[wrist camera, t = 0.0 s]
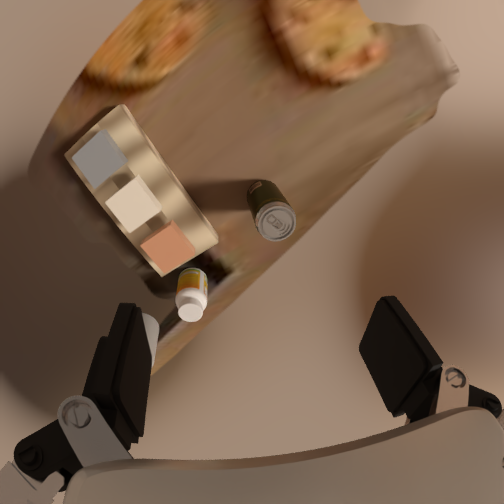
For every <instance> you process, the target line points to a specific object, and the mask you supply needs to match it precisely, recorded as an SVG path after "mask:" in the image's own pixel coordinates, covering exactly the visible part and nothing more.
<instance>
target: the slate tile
mask: <svg viewBox="0 0 504 504" xmlns="http://www.w3.org/2000/svg"><path fill="white" fill-rule="evenodd" d="M72 159H73V161H74V162H75V163H76V165H77V166H78V168H79V169H80V170H81V172H82V173H83V174H84V176H85V177H86V178H87V180H88V181H89V182H90V184H91V185H92V186H93V188H94V189H96V188H97V187H98V186H99V185H100V184H102V183H103V182H104V181H105V180H106V179H107V178H108V177H110V176H111V175H112V174H113V173H114V172H116V171H117V170H118V169H119V168H120V167H122V166H123V165H124V164H125V163H127V162H128V159H127V158H126V157H125V155H124V154H123V153H122V151H121V150H120V148H119V147H118V146H117V144H116V143H115V141H114V140H113V139H112V137H111V136H110V134H109V133H108V132H107V130H106V129H104V130H101V131H100V132H98V133H97V134H96V135H95V136H94V137H93V138H92V139H91V140H90V141H88V142H87V143H86V144H85V145H84V146H83V147H82V148H81V149H80V150H79V151H78V152H77V153H76V154H75V155H74V156H73V157H72Z"/></svg>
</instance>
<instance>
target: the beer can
mask: <svg viewBox="0 0 504 504" xmlns="http://www.w3.org/2000/svg"><path fill="white" fill-rule="evenodd" d="M247 201H248V204H249V207H250V210H251V213H252V216H253V219H254V223H255V226H256V228H257V230H258V232H259V233H260V234H261V235H262V236H263V237H264V238H266V239H267V240H270V241H281V240H284V239H286V238H287V237H289V236H290V235H291V234H292V233H293V231H294V229H295V226H296V216H295V213H294V210H293V209H292V207H291V206H290V205H289V203H288V202H287V200H286V199H285V197H284V196H283V194H282V193H281V192H280V190H279V189H278V187H277V186H276V185H275V184H274V183H272V182H271V181H267V180H262V181H258V182H255V183H254V184H253V185H252V186H251V187H250V188H249V190H248V193H247Z"/></svg>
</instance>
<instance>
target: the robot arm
mask: <svg viewBox="0 0 504 504" xmlns="http://www.w3.org/2000/svg"><path fill="white" fill-rule="evenodd" d="M359 352H360V354H361V356H362V358H363V360H364V362H365V364H366V366H367V368H368V370H369V372H370V374H371V376H372V378H373V380H374V382H375V385H376V387H377V388H378V391H379V393H380V395H381V397H382V399H383V401H384V403H385V406H386V408H387V410H388V411H389V412H391V413H392V415H393V417H397V416H401V415H403V414H404V413H406V415H407V419H406V422H405V425H404V426H401V427H399V428H396V429H393V430H390V431H387V432H383V433H380V434H376V435H373V436H369V437H366V438H362V439H358V440H355V441H351V442H347V443H342V444H338V445H334V446H329V447H324V448H319V449H315V450H308V451H303V452H296V453H290V454H283V455H275V456H266V457H256V458H243V459H227V460H226V459H224V460H166V459H134V458H133V457H132V456H131V454H130V453H129V452H128V450H130V447H131V443H138V439H139V437H143V434H144V425H145V414H146V406H147V397H148V389H149V382H150V374H151V367H152V354H151V350H150V346H149V342H148V338H147V334H146V329H145V325H144V320H143V316H142V311H141V308H140V307H136V304H135V303H120V304H119V306H118V309H117V312H116V315H115V318H114V321H113V323H112V326H111V329H110V332H109V335H108V337H105V336H102V337H101V338H100V340H99V342H98V345H97V348H96V351H95V354H94V357H93V360H92V363H91V367H90V370H89V373H88V376H87V380H86V383H85V387H84V390H83V394H82V396H72V397H69V398H68V399H66V400H65V401H64V402H63V403H62V404H61V405H60V407H59V410H58V419H57V420H55V421H54V422H52V423H50V424H49V425H47V426H45V427H43V428H42V429H40V430H38V431H37V432H35V433H33V434H31V435H29V436H28V437H26V438H24V439H22V440H21V441H20V442H19V443H18V444H17V445H16V447H15V450H14V460H13V462H12V463H11V462H9V461H8V462H7V464H6V465H5V466H4V467H3V468H2V469H1V471H0V504H52V503H53V501H54V500H53V497H54V496H55V495H56V494H57V492H62V491H65V490H66V492H65V496H64V501H63V504H504V409H503V410H502V406H501V403H500V401H499V399H498V398H497V397H496V396H495V395H493V394H491V393H489V392H486V391H484V390H482V389H479V388H477V387H474V386H472V385H470V384H469V378H468V376H467V374H466V372H465V371H464V370H463V369H461V368H460V367H458V366H456V365H447V366H445V367H444V368H443V369H442V367H441V366H442V364H443V362H442V360H441V359H440V357H439V356H438V354H437V353H436V351H435V350H434V348H433V347H432V345H431V344H430V343H429V341H428V340H427V338H426V337H425V336H424V334H423V333H422V331H421V330H420V328H419V327H418V326H417V324H416V323H415V322H414V321H413V319H412V318H411V316H410V315H409V313H408V312H407V311H406V310H405V308H404V307H403V305H402V304H401V303H400V302H399V300H397V298H396V297H395V296H385V297H381V298H380V300H379V301H377V303H376V306H375V308H374V311H373V313H372V316H371V318H370V321H369V323H368V326H367V328H366V331H365V333H364V335H363V338H362V340H361V342H360V345H359Z"/></svg>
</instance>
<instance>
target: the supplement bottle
mask: <svg viewBox="0 0 504 504" xmlns="http://www.w3.org/2000/svg"><path fill="white" fill-rule="evenodd" d="M176 305H177V307H178V314H179V316H180V317H181V318H182V319H183V320H185V321H188V322H195V321H198V320H199V319H200V318H201V317H202V315H203V310H204V309H205V308H206V305H207V277H206V275H205V273H204V272H203V271H201V270H200V269H197V268H187V269H185V270H183V271H182V272H181V273H180V275H179V279H178V286H177V293H176Z"/></svg>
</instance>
